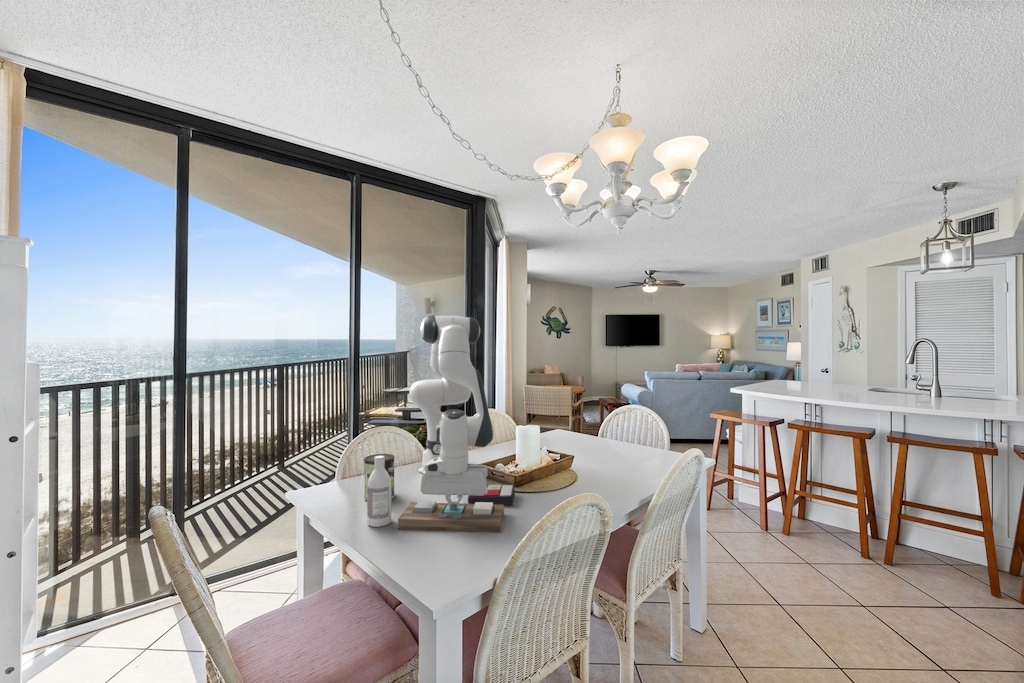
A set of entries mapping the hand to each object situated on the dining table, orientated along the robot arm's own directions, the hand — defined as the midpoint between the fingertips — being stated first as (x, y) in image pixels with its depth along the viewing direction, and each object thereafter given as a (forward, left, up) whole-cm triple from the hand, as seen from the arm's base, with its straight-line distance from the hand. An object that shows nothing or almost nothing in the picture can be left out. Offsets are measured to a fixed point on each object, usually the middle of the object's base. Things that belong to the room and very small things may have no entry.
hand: (454, 508), depth 133 cm
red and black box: (-17, +10, -4) cm, 20 cm away
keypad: (+1, 0, -3) cm, 4 cm away
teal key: (0, 0, -2) cm, 2 cm away
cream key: (0, +9, -1) cm, 9 cm away
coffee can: (-17, -30, -4) cm, 35 cm away
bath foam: (+4, -22, -4) cm, 23 cm away
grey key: (0, -9, -1) cm, 9 cm away
